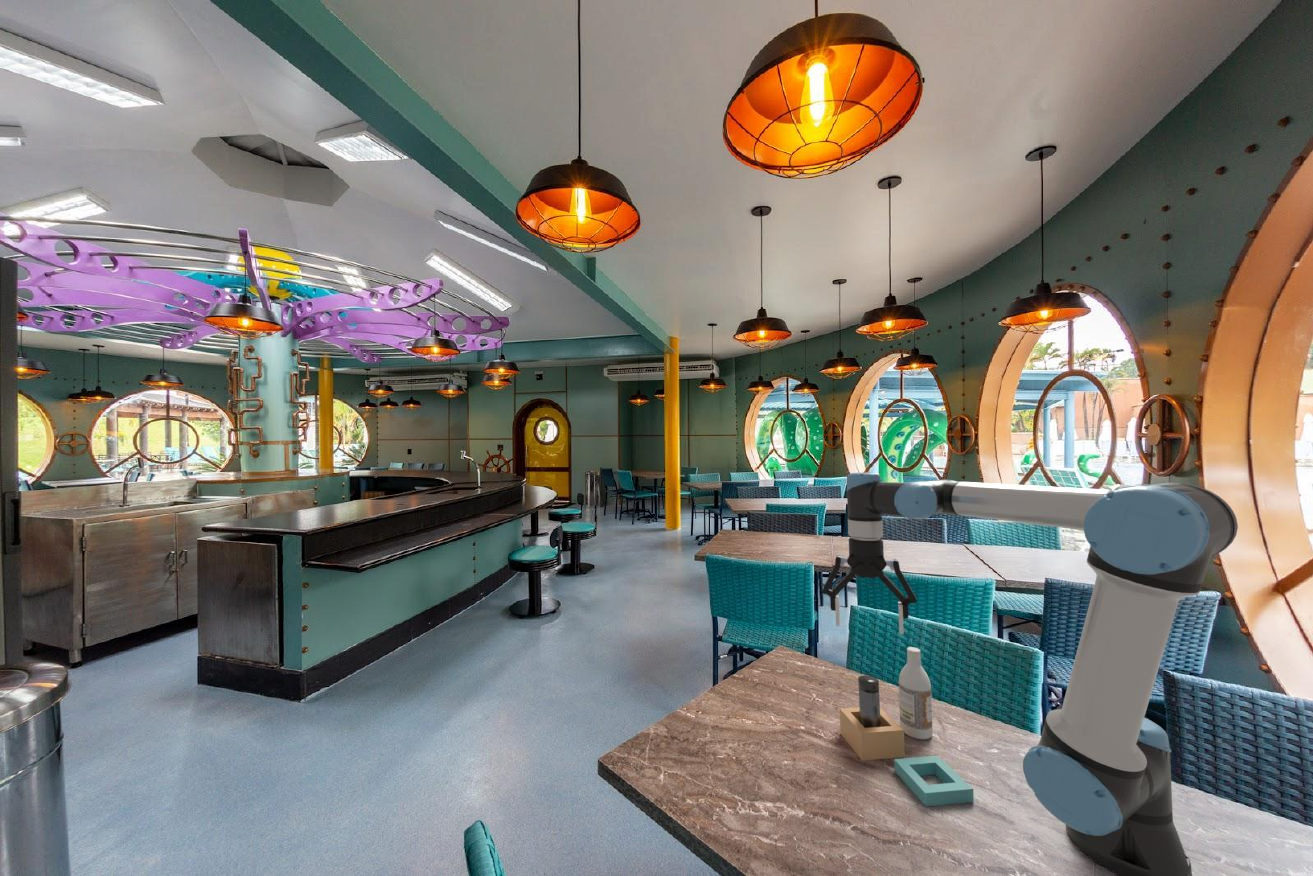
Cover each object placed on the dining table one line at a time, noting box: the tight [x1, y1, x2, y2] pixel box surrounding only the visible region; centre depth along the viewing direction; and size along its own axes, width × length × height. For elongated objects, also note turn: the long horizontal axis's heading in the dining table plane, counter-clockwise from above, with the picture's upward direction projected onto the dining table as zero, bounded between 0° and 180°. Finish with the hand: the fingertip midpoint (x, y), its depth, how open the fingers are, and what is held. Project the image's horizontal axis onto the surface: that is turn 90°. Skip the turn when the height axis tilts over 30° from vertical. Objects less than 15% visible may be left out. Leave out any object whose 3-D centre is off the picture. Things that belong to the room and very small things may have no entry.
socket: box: [839, 706, 906, 761], centre depth 109 cm, size 10×10×6 cm
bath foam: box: [898, 646, 934, 740], centre depth 114 cm, size 7×7×20 cm
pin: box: [857, 674, 881, 728], centre depth 109 cm, size 4×4×14 cm
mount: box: [893, 755, 975, 807], centre depth 95 cm, size 10×10×2 cm
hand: (868, 628), depth 109 cm, fingers open, 13 cm apart
